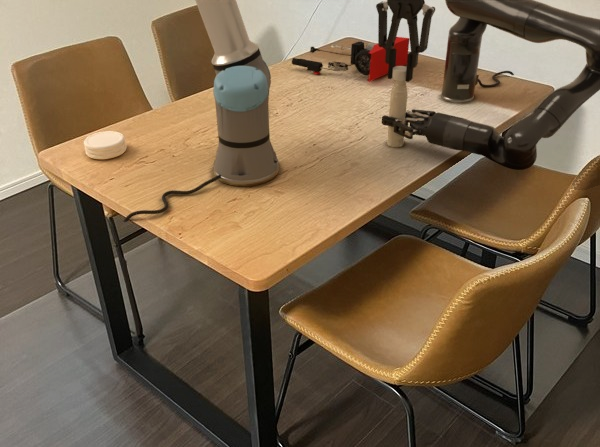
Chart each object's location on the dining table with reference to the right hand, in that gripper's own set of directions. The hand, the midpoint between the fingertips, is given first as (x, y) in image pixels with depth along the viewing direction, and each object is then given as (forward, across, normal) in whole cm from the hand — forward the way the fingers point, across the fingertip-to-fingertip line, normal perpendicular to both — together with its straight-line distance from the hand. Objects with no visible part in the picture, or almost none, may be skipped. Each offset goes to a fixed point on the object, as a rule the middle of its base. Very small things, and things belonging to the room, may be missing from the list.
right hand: (387, 116), depth 155 cm
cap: (-3, 0, +12) cm, 13 cm away
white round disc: (+55, -45, -7) cm, 71 cm away
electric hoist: (+39, +45, -7) cm, 60 cm away
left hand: (-3, 0, +10) cm, 11 cm away
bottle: (-3, 0, -7) cm, 7 cm away
